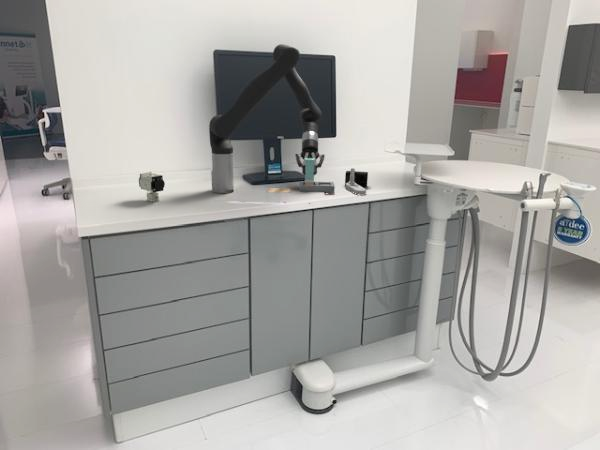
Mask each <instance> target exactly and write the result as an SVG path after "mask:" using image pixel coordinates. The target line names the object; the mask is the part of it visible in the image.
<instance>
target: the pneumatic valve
mask: <svg viewBox="0 0 600 450" xmlns="http://www.w3.org/2000/svg"><path fill="white" fill-rule="evenodd" d="M165 183H166V182H165V180H164V179H163V175H161V174H157V173H154V172H152V171H149V172H145V173H139V178H138V185H139V186H138V187H140V189H141V190H144V191H147V193H146V199H147V200H146V201H147V202H150V203H154V202H158V201H160V199H159V198H160V197H159V192H162V191H164V187H165Z"/></svg>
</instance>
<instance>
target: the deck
mask: <svg viewBox="0 0 600 450" xmlns="http://www.w3.org/2000/svg"><path fill="white" fill-rule="evenodd" d="M266 193H283V194H286V193H287V194H289V193H291V188H286V187H285V188H282V187H281V188H280V187H277V188H275V187H268V190H267V192H266Z"/></svg>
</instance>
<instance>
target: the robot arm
mask: <svg viewBox="0 0 600 450" xmlns="http://www.w3.org/2000/svg"><path fill="white" fill-rule="evenodd" d="M272 58H273V60H274V63H272V65H270V66H269V67H268V68H266V69H265V70H262V71H261V72H259V73H257V74H256V75H254V76H253V77H252V78H251V79H250V80H249V81H248V82H247V83H246V84H245V85H244V86H243V88H242V89H241V90H240V92H239V93H238V96H237V97H236V99H235V101H234V103H233V104H232V106H230V108H229V109H228V110H226V112H224V113H223V114H216V115H214V116H213V117H212V118H211V119H210V121H209V125H208V127H209V129H208V130H209V131H208V132H209V143H210V144H209V145H210V149H211V165H212V167H211V168H212V169H211V173H210V174H211V175H210V176H211V192H212V193H216V194H230V193H233V192H234V191H235V190H234V189H235V185H234V183H235V181H234V148H233V144H232V141H231V140H232V139H231V136H232V135H233V134H234V133H235V131H236V130H237V129H238V127H239V126H240V124H241V123H242V121H243V120H245V118H246V117H247V116H248V114H250V113H251V112H252V111H253V110H254V108H255V107H257V105H259V103H261V101H263V99H264V98H265V97H266V96H267V95H268V94H269V93H270V92H271V90H272V89H273V88H274V87H275V86H277V84H278V83H279V82H280V81H281V79H283V78H285V80H286V82H287V84H288V86H289V88H290V90H291V92H292V95H293V97H294V99H295V101H296V104H297V106H298V107H299V108H302V110H301V111H300V113H299V114H298V115H299V119H300V123H301V125H302V138H301V152H300V154H298V153H295V154H294V155H295V157H294V158H295V160H296V163H297V165H298V167H299V168H302V171H301V172H302V175H304V176H305V158H314V176H316V175H317V174H318V169H320V168H322V165H323V163H324V161H325V158H326V157H325V154H320V153H319V137H318V136H319V135H318V134H319V131H318V130H319V129H318V128H319V127H318V124H316V123H318V122H319V121H321V120H322V117H323V115H322V113H323V112H322V111H321V109H320V108H319V106H318V105H317V103H316V102H315V101H314V100H313V98H312V97H311V93H310V91H309V89H308V87H307V85H306V83H305V81H303V79H302V78H301V77H300V75H299V73H298V72H297V70H296V68H295V67H296V66H297V65H298V63H299V61H300V59H301V53H300V50H299V49H298V48H297V47H295V46H293V45H289V44H285V43H281V44H278V45H276V46H275V47H274V49H273V53H272ZM301 158H302V159H303V160H302V161H303V162H301ZM318 159H319V161H318V162H317V160H318Z"/></svg>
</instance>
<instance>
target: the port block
mask: <svg viewBox="0 0 600 450" xmlns="http://www.w3.org/2000/svg"><path fill="white" fill-rule="evenodd" d="M335 187H336V186H335V183H334V181H314V184H305V180H304V181H303V180H302V181H299V192H321V193H323V194H324V193H334V194H335V189H336V188H335Z"/></svg>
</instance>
